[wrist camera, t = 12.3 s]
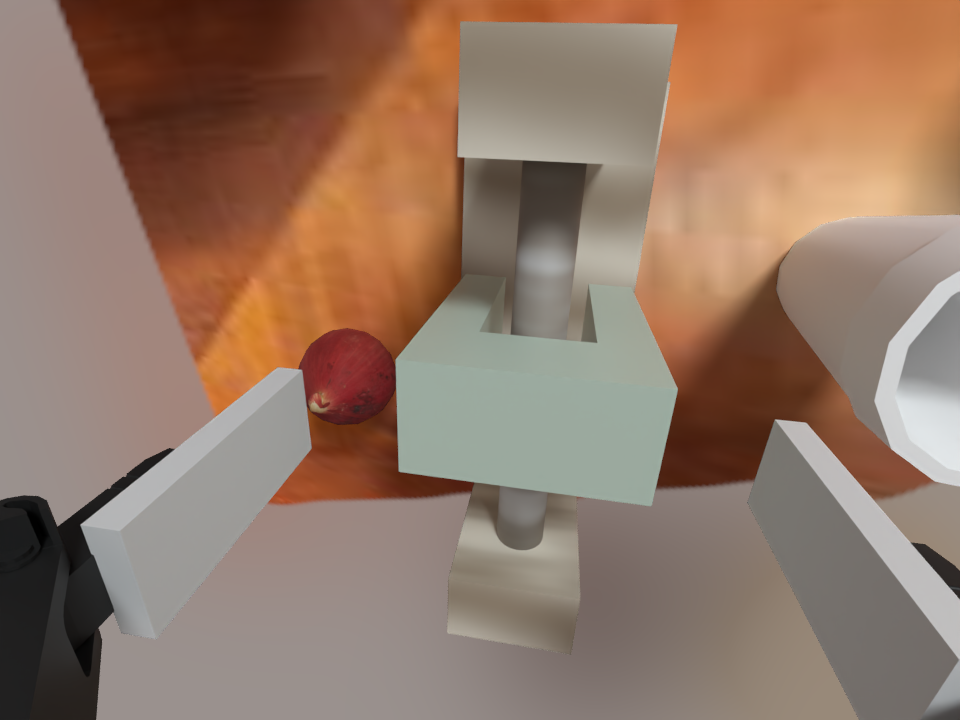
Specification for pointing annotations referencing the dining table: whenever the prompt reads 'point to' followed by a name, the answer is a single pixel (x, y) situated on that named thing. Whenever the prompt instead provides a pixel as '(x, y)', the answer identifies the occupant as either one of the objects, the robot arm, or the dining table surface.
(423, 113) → the dining table surface
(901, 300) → the foam cup
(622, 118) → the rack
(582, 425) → the grey u-shaped block
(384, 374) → the onion
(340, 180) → the dining table surface
